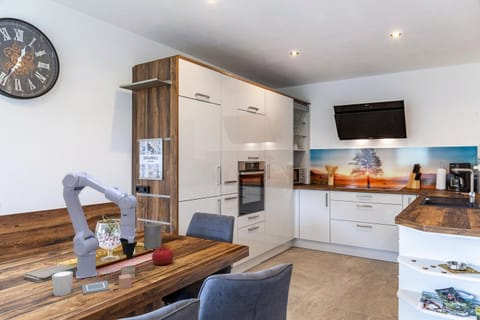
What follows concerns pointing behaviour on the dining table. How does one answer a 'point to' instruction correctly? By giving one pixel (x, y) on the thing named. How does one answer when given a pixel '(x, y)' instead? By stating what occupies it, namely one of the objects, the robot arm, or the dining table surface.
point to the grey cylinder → (62, 283)
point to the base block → (128, 270)
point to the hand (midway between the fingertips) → (127, 256)
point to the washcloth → (48, 273)
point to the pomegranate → (162, 256)
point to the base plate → (95, 287)
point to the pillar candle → (152, 235)
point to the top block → (125, 281)
